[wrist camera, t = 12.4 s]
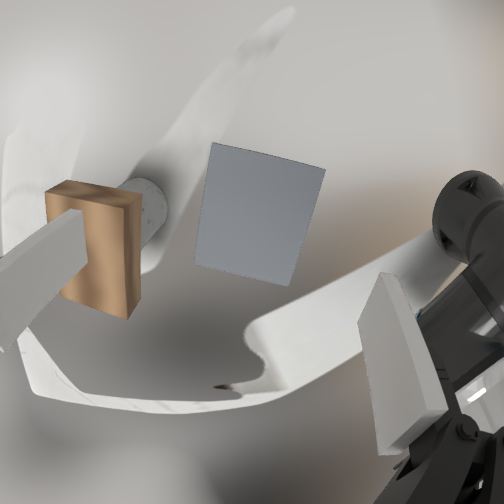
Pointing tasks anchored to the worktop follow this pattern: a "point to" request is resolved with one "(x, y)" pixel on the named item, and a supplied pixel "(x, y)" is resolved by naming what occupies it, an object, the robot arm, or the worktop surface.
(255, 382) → the worktop surface
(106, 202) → the board
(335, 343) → the worktop surface
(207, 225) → the mat
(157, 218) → the grey speckled cylinder
